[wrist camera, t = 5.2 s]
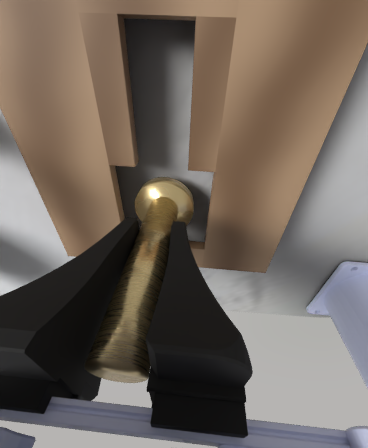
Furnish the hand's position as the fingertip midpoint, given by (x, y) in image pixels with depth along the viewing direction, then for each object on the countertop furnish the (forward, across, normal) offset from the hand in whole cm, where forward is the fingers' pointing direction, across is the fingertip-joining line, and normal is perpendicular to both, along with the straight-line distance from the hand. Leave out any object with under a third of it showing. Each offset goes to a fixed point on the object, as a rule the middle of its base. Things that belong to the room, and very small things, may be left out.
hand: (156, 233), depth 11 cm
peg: (+3, 0, 0) cm, 4 cm away
